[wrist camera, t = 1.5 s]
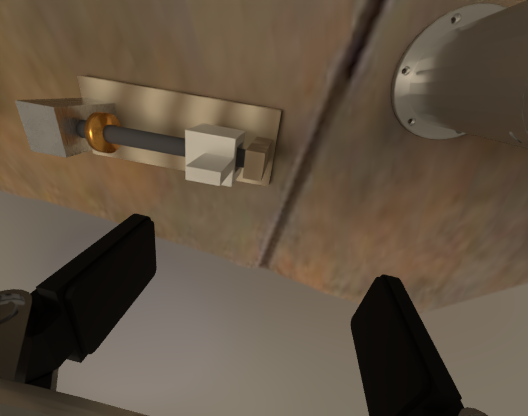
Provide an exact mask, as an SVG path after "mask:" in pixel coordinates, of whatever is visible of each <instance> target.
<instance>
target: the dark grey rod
mask: <svg viewBox="0 0 528 416" xmlns="http://www.w3.org/2000/svg"><path fill="white" fill-rule="evenodd" d="M86 121H87V120H81V121H79V122H78V124H77V133H78V134H79V136H80V137H82V138H86V137H85V123H86ZM103 138H104V140H105V141H106V142H108V143H113V144H118V145H123V146H129V147H134V148H139V149H145V150H150V151H156V152H161V153H166V154H172V155H177V156H182V157H185V138H180V137H175V136H169V135H164V134H158V133H153V132H147V131H142V130H136V129H131V128H125V127H120V126H114V125H106V126H105V127H104V129H103ZM245 152H246V149H240V148H237V153H236V163H235V166H236V167H242V168H244V161H245Z"/></svg>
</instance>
